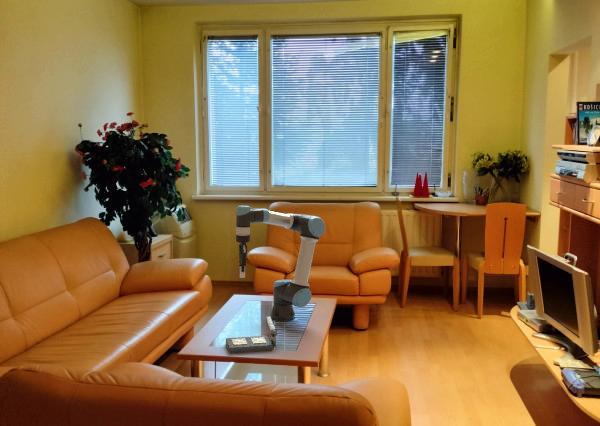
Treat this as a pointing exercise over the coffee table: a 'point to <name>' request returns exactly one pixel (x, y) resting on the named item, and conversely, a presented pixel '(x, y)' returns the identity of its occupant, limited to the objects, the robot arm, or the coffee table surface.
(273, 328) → the ball-tipped flat stick
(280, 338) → the coffee table surface
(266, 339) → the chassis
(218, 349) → the coffee table surface
